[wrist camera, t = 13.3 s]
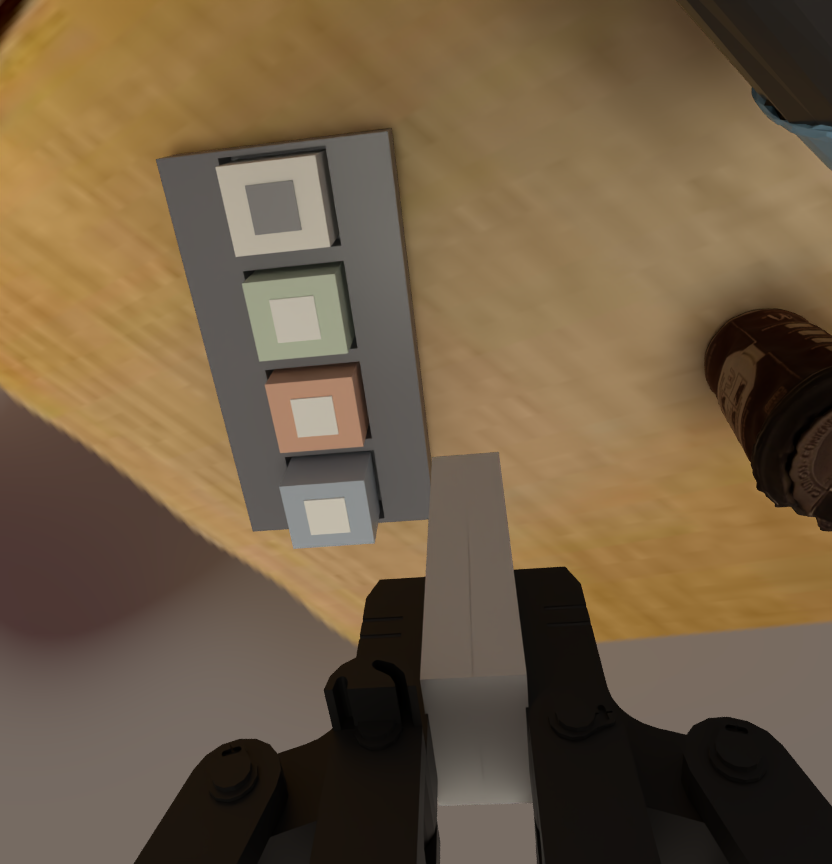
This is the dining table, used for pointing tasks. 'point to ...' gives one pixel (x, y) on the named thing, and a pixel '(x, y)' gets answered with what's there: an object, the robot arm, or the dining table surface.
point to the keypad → (372, 345)
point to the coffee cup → (779, 404)
